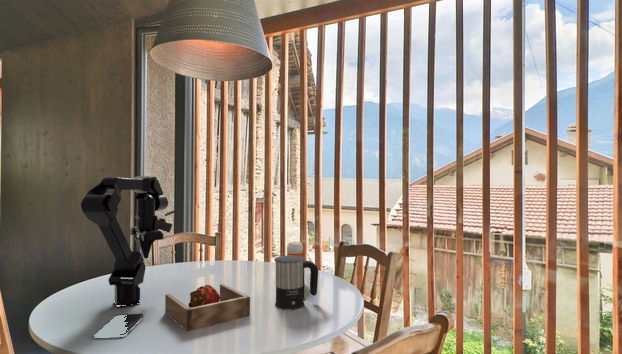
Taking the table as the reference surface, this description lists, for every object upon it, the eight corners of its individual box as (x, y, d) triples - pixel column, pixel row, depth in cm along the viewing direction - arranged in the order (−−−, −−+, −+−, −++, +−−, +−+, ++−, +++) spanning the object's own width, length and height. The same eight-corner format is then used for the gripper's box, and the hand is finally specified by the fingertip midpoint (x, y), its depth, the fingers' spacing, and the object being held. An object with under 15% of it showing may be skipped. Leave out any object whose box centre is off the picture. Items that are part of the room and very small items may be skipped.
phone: (91, 336, 95) (115, 314, 110) (91, 340, 95) (115, 318, 110) (125, 334, 96) (144, 313, 111) (125, 339, 96) (144, 317, 111)
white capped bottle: (302, 285, 144) (302, 244, 144) (286, 285, 144) (286, 244, 144) (303, 280, 150) (303, 241, 150) (287, 280, 150) (287, 241, 150)
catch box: (187, 331, 100) (187, 310, 100) (165, 313, 114) (165, 294, 114) (249, 315, 112) (250, 296, 112) (223, 300, 125) (223, 283, 125)
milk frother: (284, 312, 114) (284, 262, 115) (259, 299, 127) (259, 253, 127) (322, 303, 123) (322, 256, 123) (295, 291, 136) (295, 249, 136)
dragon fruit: (196, 325, 108) (205, 316, 120) (222, 306, 109) (228, 299, 121) (179, 300, 109) (190, 294, 121) (204, 281, 110) (212, 277, 122)
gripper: (179, 213, 131) (178, 259, 131) (161, 209, 145) (161, 251, 145) (144, 215, 124) (144, 264, 124) (129, 211, 139) (129, 254, 138)
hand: (145, 258), depth 133 cm, fingers closed
